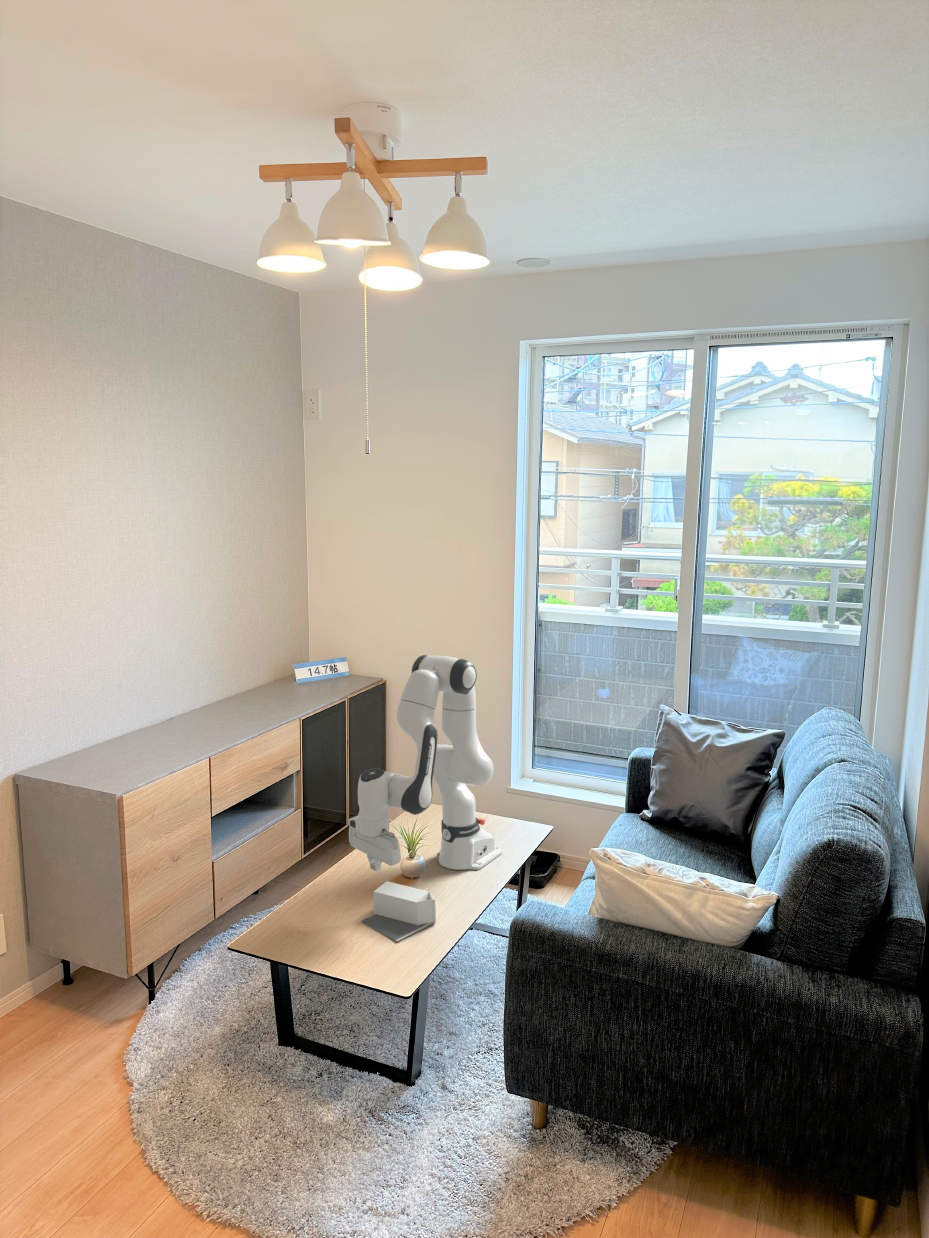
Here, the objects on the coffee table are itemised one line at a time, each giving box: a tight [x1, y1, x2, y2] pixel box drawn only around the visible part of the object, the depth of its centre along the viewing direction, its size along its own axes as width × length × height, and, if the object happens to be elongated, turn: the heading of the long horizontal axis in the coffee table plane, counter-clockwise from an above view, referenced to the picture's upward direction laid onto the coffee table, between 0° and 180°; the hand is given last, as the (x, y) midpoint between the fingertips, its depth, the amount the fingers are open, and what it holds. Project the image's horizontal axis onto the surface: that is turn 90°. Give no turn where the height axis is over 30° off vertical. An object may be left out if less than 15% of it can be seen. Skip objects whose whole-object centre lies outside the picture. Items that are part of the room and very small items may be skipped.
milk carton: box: [373, 881, 437, 926], centre depth 241 cm, size 7×7×19 cm
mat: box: [361, 914, 436, 944], centre depth 239 cm, size 14×16×1 cm
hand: (375, 869), depth 243 cm, fingers closed
